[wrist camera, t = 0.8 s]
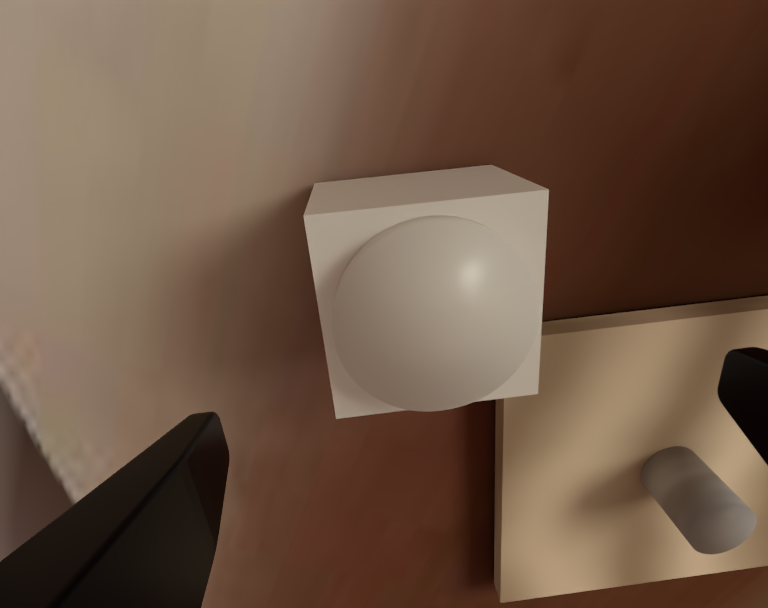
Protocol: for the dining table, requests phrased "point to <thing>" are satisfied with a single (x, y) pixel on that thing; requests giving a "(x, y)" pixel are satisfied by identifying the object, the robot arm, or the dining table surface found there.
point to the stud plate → (629, 455)
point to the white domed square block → (429, 287)
